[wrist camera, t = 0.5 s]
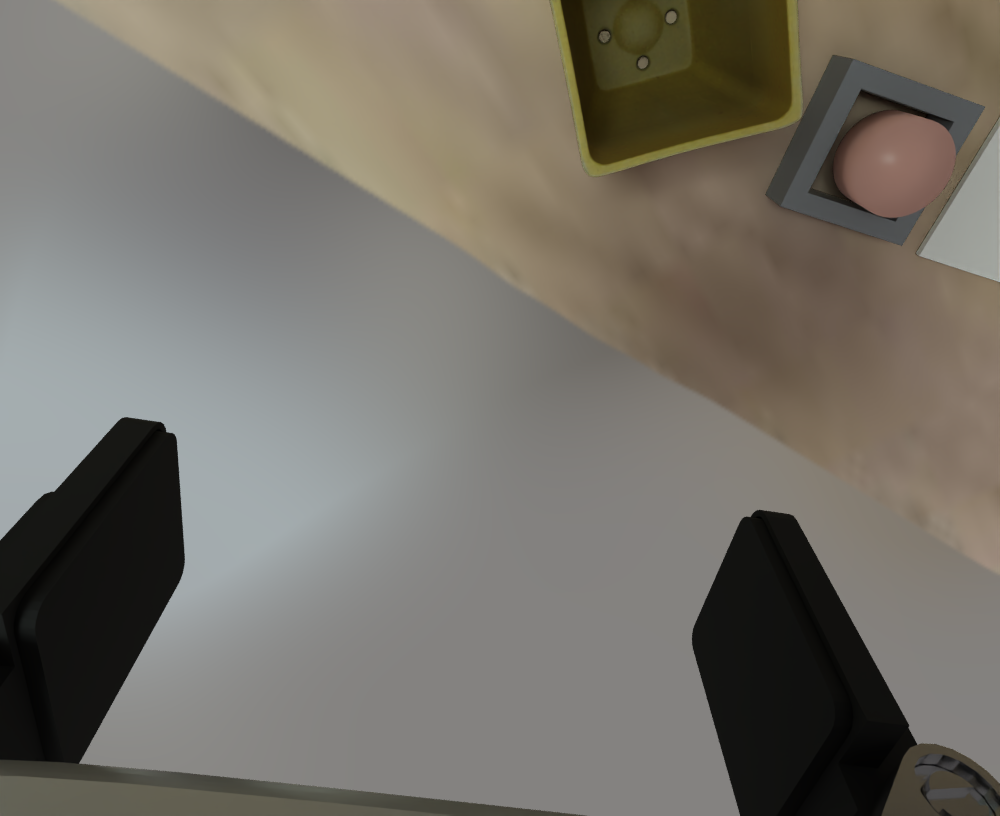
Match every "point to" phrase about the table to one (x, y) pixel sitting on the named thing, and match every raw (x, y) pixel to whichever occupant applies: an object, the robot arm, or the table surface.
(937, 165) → the button
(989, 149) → the sheet
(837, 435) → the table surface
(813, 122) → the button collar
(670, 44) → the flower pot
